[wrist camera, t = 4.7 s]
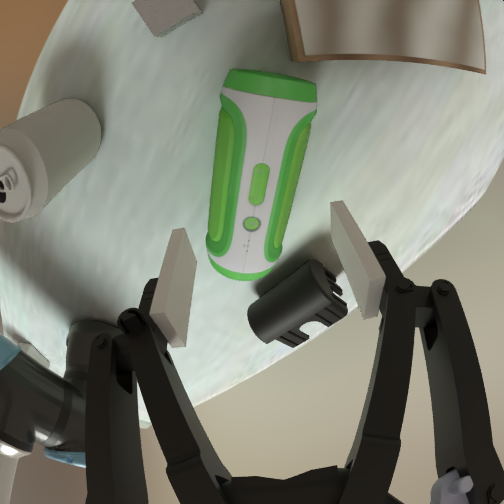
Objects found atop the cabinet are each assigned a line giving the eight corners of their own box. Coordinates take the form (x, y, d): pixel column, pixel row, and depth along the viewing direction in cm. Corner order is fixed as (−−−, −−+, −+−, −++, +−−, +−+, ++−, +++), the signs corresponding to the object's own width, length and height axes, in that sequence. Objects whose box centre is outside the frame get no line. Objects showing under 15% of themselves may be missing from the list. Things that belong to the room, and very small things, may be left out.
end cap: (304, 245, 33) (315, 288, 27) (339, 274, 36) (353, 315, 31) (245, 292, 37) (246, 335, 32) (283, 314, 40) (288, 354, 35)
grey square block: (162, 37, 18) (154, 36, 17) (141, 6, 16) (131, 2, 14) (203, 13, 17) (199, 9, 15) (181, -18, 15) (175, -25, 13)
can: (39, 109, 21) (-41, 155, 11) (96, 87, 20) (14, 121, 11) (57, 171, 25) (-8, 237, 16) (112, 157, 25) (51, 225, 16)
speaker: (273, 240, 32) (281, 289, 26) (208, 233, 31) (200, 282, 26) (310, 79, 21) (335, 90, 16) (226, 66, 21) (219, 70, 15)
